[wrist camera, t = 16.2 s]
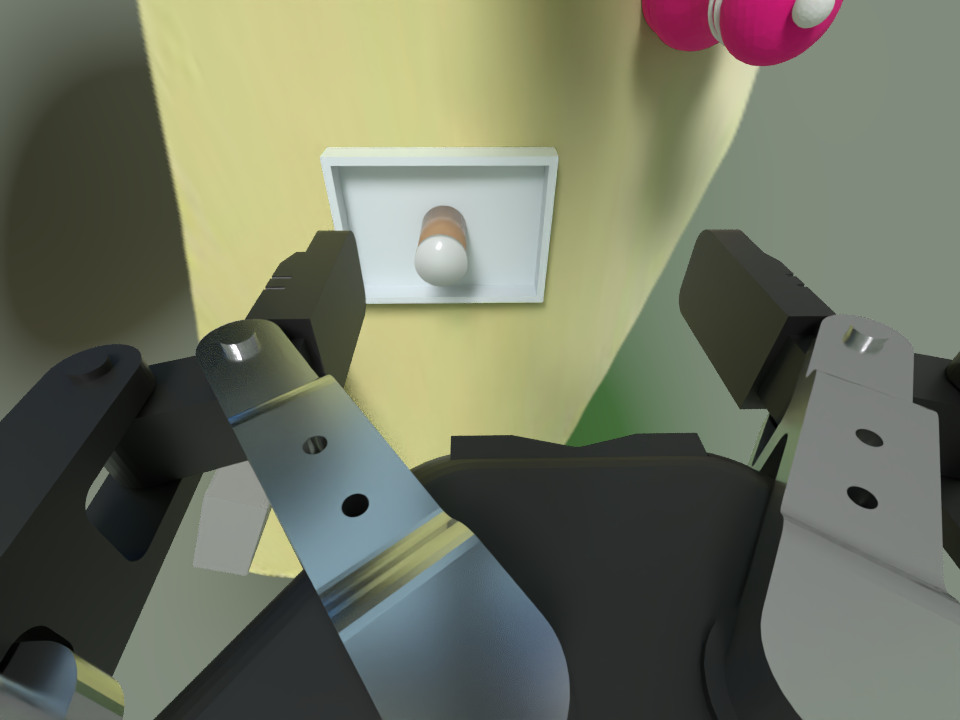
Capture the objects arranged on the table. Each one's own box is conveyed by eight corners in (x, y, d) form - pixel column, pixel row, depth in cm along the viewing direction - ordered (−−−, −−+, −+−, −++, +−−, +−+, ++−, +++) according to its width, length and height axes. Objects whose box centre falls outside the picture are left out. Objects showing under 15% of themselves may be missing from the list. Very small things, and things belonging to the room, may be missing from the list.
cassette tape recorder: (314, 405, 68) (254, 578, 49) (270, 393, 66) (191, 567, 47) (338, 336, 60) (277, 510, 41) (289, 320, 58) (202, 494, 39)
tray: (327, 147, 45) (319, 157, 43) (554, 146, 46) (558, 156, 43) (355, 289, 55) (350, 303, 53) (539, 288, 56) (542, 302, 54)
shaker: (418, 204, 48) (412, 239, 42) (467, 204, 49) (467, 238, 42) (422, 248, 52) (416, 286, 46) (467, 248, 52) (467, 286, 46)
